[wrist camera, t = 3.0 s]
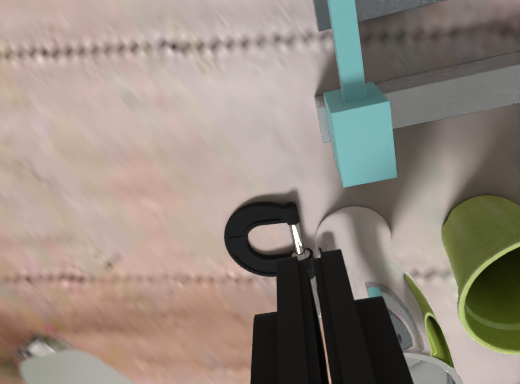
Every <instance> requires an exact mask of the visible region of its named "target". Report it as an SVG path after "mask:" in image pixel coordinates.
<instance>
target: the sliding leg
mask: <svg viewBox="0 0 520 384" xmlns="http://www.w3.org/2000/svg"><path fill="white" fill-rule="evenodd" d="M327 2H328V8H329V15H330V21H331V28H332V35H333V41H334V48H335V54H336V61H337V67H338V74H339V81H340V87H341V89H337V90H333V91H328V92H324V93H323V94H324V100H325V106H326V112H327V118H328V124H329V129H330V135H331V141H332V147H333V153H334V158H335V161H336V165H337V168H338V171H339V175H340V178H341V181H342V185H343V188H344V187H349V186H355V185H360V184H365V183H371V182H376V181H381V180H387V179H392V178H397V169H396V159H395V150H394V140H393V130H392V120H391V111H390V101H389V100H388V99H387V98H386V97H385V96H384V94H383V93H382V92H381V91H380V90H379V89H378V88H377V87H376V86H375V84H374V83H373V82H369V83H365V78H364V70H363V62H362V54H361V46H360V38H359V30H358V22H357V14H356V6H355V0H327Z"/></svg>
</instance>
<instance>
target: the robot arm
mask: <svg viewBox="0 0 520 384" xmlns="http://www.w3.org/2000/svg"><path fill="white" fill-rule="evenodd" d="M320 255H321V258H317V259H313V264H314V271H315V277H316V284H317V291H318V297H319V304H320V311H321V318H322V324H323V331H324V338H325V344H326V351H327V358H328V365H329V371H330V378H331V384H414V382H413V379H412V377H411V374H410V371H409V368H408V365H407V362H406V360H405V357H404V354H403V351H402V348H401V346H400V343H399V340H398V337H397V334H396V331H395V329H394V326H393V323H392V320H391V317H390V314H389V312H388V309H387V306H386V303H385V301H384V298H383V297H382V296H377V297H370V298H364V299H357V300H354V297H353V293H352V289H351V285H350V281H349V277H348V274H347V270H346V266H345V262H344V258H343V254H342V251H341V249H336V250H330V251H324V252H320ZM276 271H277V312H271V313H264V314H257V315H255V317H254V324H253V344H252V363H251V383H250V384H329V378H328V371H327V364H326V357H325V350H324V344H323V338H322V333H321V328H320V323H319V319H318V314H317V309H316V304H315V299H314V294H313V290H312V285H311V280H310V275H309V270H308V265H307V261H306V260H304V261H298V257H297V256H294V257H288V258H282V259H277V260H276Z"/></svg>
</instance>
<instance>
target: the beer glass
mask: <svg viewBox="0 0 520 384" xmlns="http://www.w3.org/2000/svg"><path fill="white" fill-rule="evenodd" d="M316 247H317V251H318V254H319V256H320V258H321V255H320V252H324V251H330V250H336V249H341V251H342V254H343V258H344V262H345V266H346V270H347V274H348V277H349V281H350V285H351V289H352V293H353V297H354V300H357V299H364V298H370V297H377V296H382V297H383V298H384V301H385V303H386V306H387V309H388V312H389V314H390V317H391V320H392V323H393V326H394V329H395V331H396V334H397V337H398V340H399V343H400V346H401V348H402V351H403V354H404V357H405V360H406V362H407V365H408V368H409V371H410V374H411V377H412V379H413V382H414V384H463V382H462V380H461V378H460V376H459V374H458V371H457V368H456V365H455V362H454V359H453V356H452V353H451V350H450V347H449V345H448V342H447V339H446V336H445V334H444V332H443V329H442V327H441V324H440V322H439V320H438V317H437V316H436V314H435V312H434V310H433V308H432V306H431V304H430V302H429V300H428V299H427V297H426V296H425V294H424V293H423V291H422V290H421V288H420V287H419V285H418V284H417V283H416V281H415V280H414V279H413V277H412V276H411V275H410V274H409V272H408V271H407V270H406V268H405V267H404V266H403V265H402V264H401V262H400V261H399V260H398V258H397V257H396V255H395V254H394V251H393V248H392V241H391V232H390V228H389V226H388V224H387V222H386V221H385V219H384V218H383V217H382V216H381V215H380V214H378V213H377V212H375V211H374V210H371V209H369V208H365V207H359V206H352V207H345V208H342V209H339V210H337V211H335V212H333V213H331V214H330V215H328V216H327V217H326V218H325V219H324V220H323V221H322V223H321V224H320V226H319V227H318V230H317V233H316ZM320 328H321V333H322V338H323V344H324V350H325V357H326V364H327V371H328V378H329V384H331V378H330V371H329V365H328V358H327V351H326V344H325V338H324V331H323V324H322V318H321V313H320Z"/></svg>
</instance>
